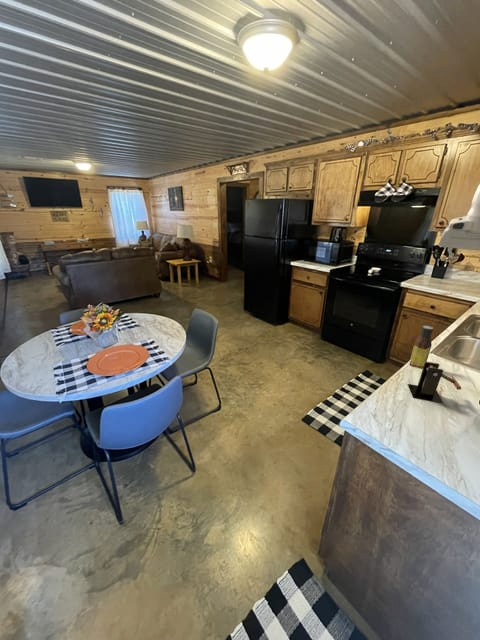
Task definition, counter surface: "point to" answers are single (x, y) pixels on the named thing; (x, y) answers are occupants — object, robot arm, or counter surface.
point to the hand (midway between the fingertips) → (465, 259)
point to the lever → (448, 379)
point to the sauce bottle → (421, 348)
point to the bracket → (427, 384)
